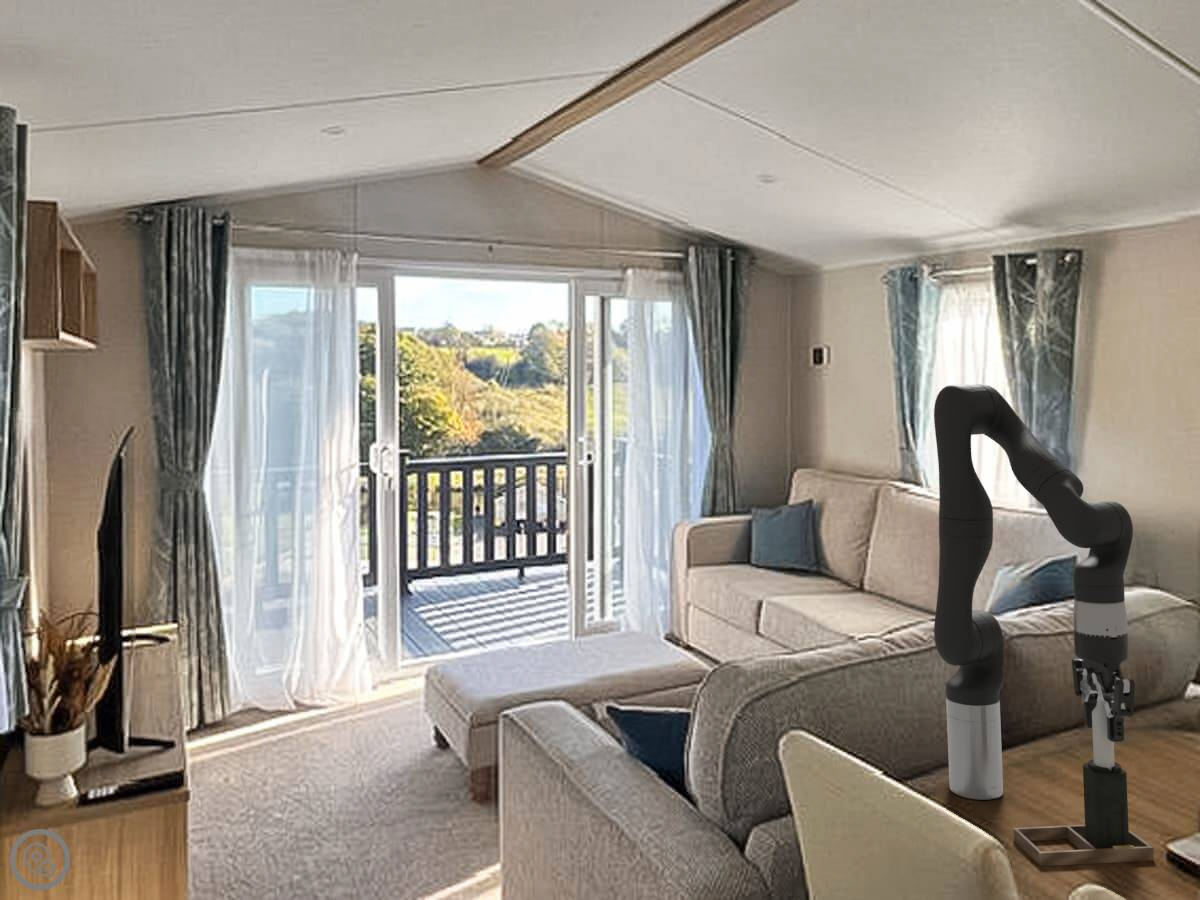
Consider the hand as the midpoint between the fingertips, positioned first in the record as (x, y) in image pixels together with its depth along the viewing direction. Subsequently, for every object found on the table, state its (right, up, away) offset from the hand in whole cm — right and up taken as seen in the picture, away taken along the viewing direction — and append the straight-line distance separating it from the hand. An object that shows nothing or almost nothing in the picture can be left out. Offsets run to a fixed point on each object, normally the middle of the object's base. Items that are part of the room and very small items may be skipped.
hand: (1104, 733), depth 145 cm
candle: (+1, -19, +1) cm, 19 cm away
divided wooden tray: (-3, -19, 0) cm, 19 cm away
